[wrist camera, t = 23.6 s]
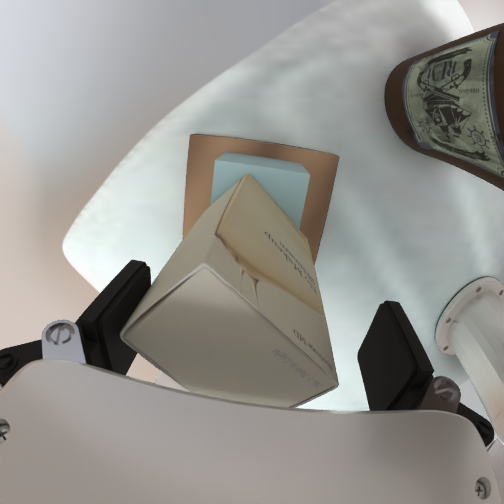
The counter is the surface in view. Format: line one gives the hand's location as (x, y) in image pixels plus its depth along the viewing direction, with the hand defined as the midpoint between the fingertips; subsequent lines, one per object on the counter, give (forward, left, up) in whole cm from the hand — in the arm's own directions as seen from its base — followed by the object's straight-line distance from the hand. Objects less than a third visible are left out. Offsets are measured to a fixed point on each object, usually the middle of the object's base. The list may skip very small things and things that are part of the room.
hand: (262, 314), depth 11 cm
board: (+1, 0, -16) cm, 16 cm away
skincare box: (+1, 0, -9) cm, 9 cm away
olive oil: (-13, -12, -16) cm, 24 cm away
